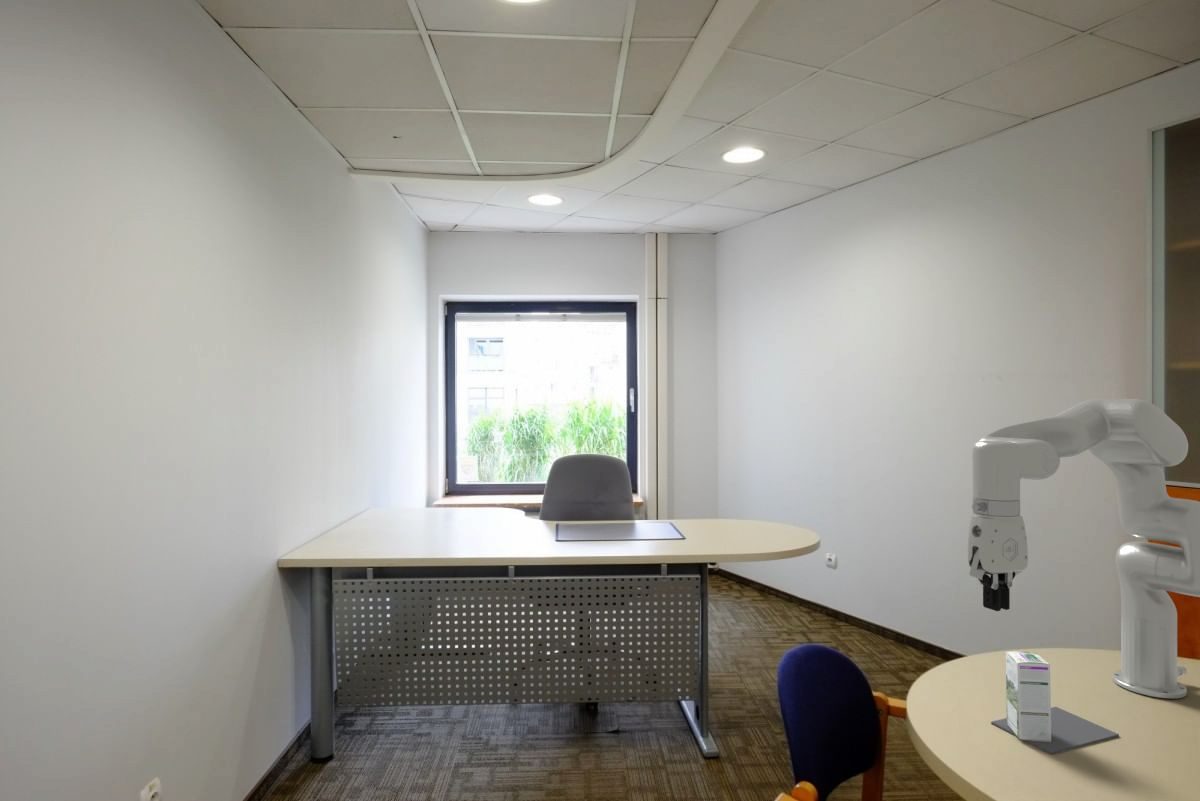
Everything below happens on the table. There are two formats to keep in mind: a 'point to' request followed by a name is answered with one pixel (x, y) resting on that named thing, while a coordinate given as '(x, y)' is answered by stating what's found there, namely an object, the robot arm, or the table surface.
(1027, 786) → the table surface
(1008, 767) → the table surface
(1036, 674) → the syrup box
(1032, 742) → the mat
